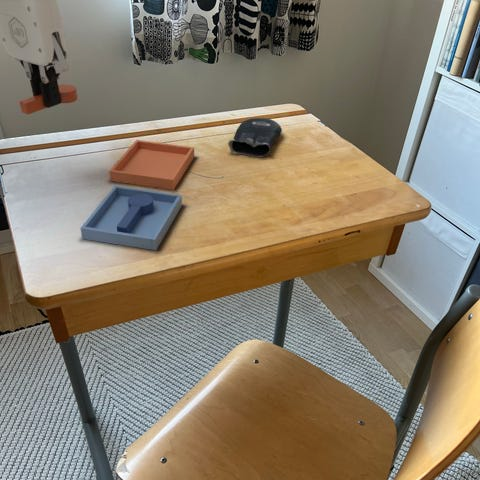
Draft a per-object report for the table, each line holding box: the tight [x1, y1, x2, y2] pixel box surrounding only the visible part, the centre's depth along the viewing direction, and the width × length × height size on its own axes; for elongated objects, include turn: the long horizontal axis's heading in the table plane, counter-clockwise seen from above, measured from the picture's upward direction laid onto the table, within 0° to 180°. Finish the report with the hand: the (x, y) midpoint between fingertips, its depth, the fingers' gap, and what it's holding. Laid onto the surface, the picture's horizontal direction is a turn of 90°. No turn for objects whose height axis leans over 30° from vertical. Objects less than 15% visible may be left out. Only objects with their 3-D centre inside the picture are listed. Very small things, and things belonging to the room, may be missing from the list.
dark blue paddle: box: [117, 194, 154, 234], centre depth 84 cm, size 11×4×2 cm, turn 168°
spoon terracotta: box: [19, 83, 79, 115], centre depth 87 cm, size 11×4×2 cm, turn 146°
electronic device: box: [227, 117, 283, 158], centre depth 109 cm, size 9×6×15 cm
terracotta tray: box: [108, 139, 195, 191], centre depth 99 cm, size 12×14×2 cm
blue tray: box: [79, 185, 183, 251], centre depth 85 cm, size 12×14×2 cm
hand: (48, 103), depth 87 cm, fingers closed on spoon terracotta, 1 cm apart
